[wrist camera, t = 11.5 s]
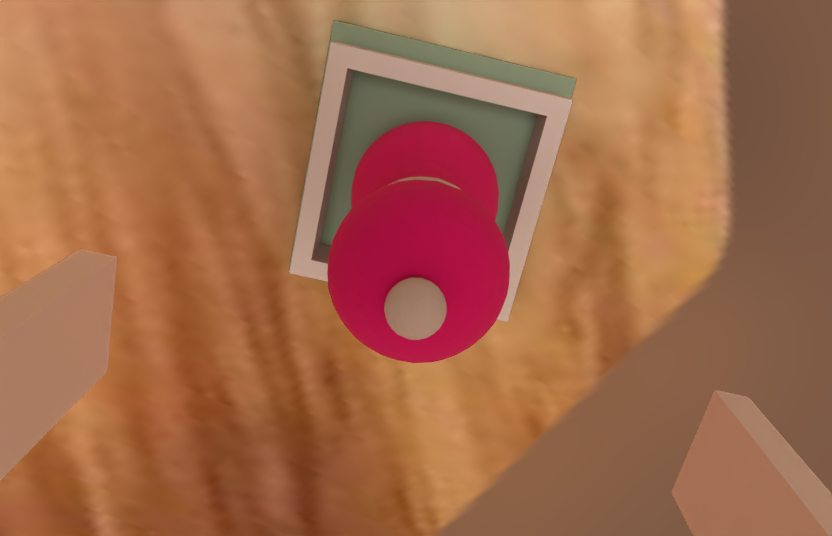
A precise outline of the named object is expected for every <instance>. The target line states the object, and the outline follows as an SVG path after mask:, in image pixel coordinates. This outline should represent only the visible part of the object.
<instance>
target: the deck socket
mask: <svg viewBox="0 0 832 536" xmlns="http://www.w3.org/2000/svg"><path fill="white" fill-rule="evenodd" d="M576 80H577V79H575V78H571V77H567V76H563V75H559V74H555V73H551V72H547V71H543V70H538V69H534V68H530V67H526V66H522V65H518V64H514V63H510V62H505V61H501V60H497V59H493V58H489V57H485V56H481V55H477V54H472V53H468V52H464V51H460V50H456V49H452V48H448V47H444V46H439V45H435V44H431V43H427V42H423V41H419V40H415V39H410V38H406V37H402V36H398V35H394V34H390V33H386V32H382V31H377V30H373V29H369V28H365V27H361V26H357V25H353V24H349V23H344V22H340V21H336V20H334V21H333V26H332V32H331V37H330V43H329V49H328V54H327V60H326V65H325V71H324V77H323V82H322V88H321V93H320V99H319V104H318V110H317V116H316V121H315V127H314V132H313V138H312V144H311V149H310V155H309V160H308V166H307V172H306V177H305V183H304V188H303V194H302V200H301V205H300V211H299V216H298V222H297V227H296V233H295V239H294V244H293V250H292V255H291V261H290V267H289V271H290V273H291V274H295V275H300V276H304V277H309V278H313V279H318V280H322V281H327V282H328V276H327V270H328V256H329V252H330V248H331V244H332V240H333V238H334V236H335V234H336V232H337V230H338V228H339V226H340V224H341V222H342V221H343V219H344V218H345V217H346V215H347V214H348V213H349V211H350V210H351V209H352V205H351V188H352V184H353V179H354V175H355V171H356V169H357V166H358V164H359V161H360V159H361V158H362V156H363V155H364V153H365V151H366V150H367V149H368V148H369V147H370V146H371V144H372V143H373V142H374V141H375V140H377V139H378V138H379V137H380V136H381V135H383V134H384V133H386V132H388V131H390V130H391V129H393V128H395V127H398V126H401V125H403V124H407V123H412V122H421V121H432V122H439V123H443V124H447V125H450V126H452V127H455V128H457V129H459V130H461V131H463V132H464V133H466V134H467V135H469V136H470V137H472V138H473V139H474V140H475V141H476V142H477V143H478V144H479V145H480V146H481V147H482V149H483V150H484V151H485V153H486V154H487V155H488V157H489V159H490V161H491V163H492V165H493V167H494V170H495V173H496V176H497V183H498V189H499V199H498V212H497V215H496V219H495V222H496V224H497V225H498V227H499V229H500V231H501V232H502V234H503V237H504V239H505V242H506V245H507V248H508V254H509V261H510V278H509V288H508V293H507V297H506V299H505V302H504V305H503V307H502V310H501V312H500V314H499V316H498V318H497V319H496V320H500V321H504V322H507V321H508V318H509V315H510V311H511V308H512V304H513V301H514V298H515V294H516V291H517V288H518V284H519V281H520V277H521V274H522V271H523V267H524V264H525V261H526V257H527V254H528V250H529V247H530V244H531V240H532V237H533V234H534V230H535V227H536V223H537V220H538V217H539V213H540V210H541V207H542V203H543V200H544V196H545V193H546V190H547V186H548V183H549V179H550V176H551V173H552V169H553V166H554V163H555V159H556V156H557V152H558V149H559V146H560V142H561V139H562V136H563V132H564V129H565V125H566V122H567V119H568V115H569V112H570V109H571V105H572V102H573V100H571V97H572V94H573V90H574V87H575V84H576Z"/></svg>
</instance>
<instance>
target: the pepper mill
mask: <svg viewBox="0 0 832 536" xmlns="http://www.w3.org/2000/svg"><path fill="white" fill-rule="evenodd" d="M498 199H499V189H498V183H497V176H496V173H495V170H494V167H493V165H492V163H491V161H490V159H489V157H488V155H487V154H486V153H485V151H484V150H483V149H482V147H481V146H480V145H479V144H478V143H477V142H476V141H475V140H474V139H473V138H472V137H470V136H469V135H467V134H466V133H464V132H463V131H461V130H459V129H457V128H455V127H452V126H450V125H447V124H443V123H439V122H432V121H421V122H412V123H407V124H403V125H401V126H398V127H395V128H393V129H391V130H390V131H388V132H386V133H384V134H383V135H381V136H380V137H379V138H378V139H377V140H375V141H374V142H373V143H372V144H371V146H370V147H369V148H368V149H367V150H366V151H365V153H364V155H363V156H362V158H361V159H360V161H359V164H358V166H357V169H356V171H355V175H354V179H353V184H352V188H351V205H352V209H351V210H350V211H349V213H348V214H347V215H346V217H345V218H344V219H343V221H342V222H341V224H340V226H339V228H338V230H337V232H336V234H335V236H334V238H333V240H332V244H331V248H330V252H329V256H328V270H327V276H328V287H329V292H330V295H331V298H332V302H333V305H334V307H335V309H336V311H337V313H338V315H339V317H340V318H341V320H342V322H343V323H344V324H345V326H346V327H347V328H348V329H349V330H350V332H351V333H352V334H353V335H354V336H355V337H356V338H357V339H358V340H359V341H361V342H362V343H363V344H364V345H366V346H367V347H369V348H371V349H372V350H374V351H376V352H378V353H379V354H381V355H384V356H387V357H390V358H393V359H396V360H400V361H406V362H411V363H423V362H434V361H439V360H443V359H446V358H448V357H451V356H454V355H457V354H458V353H460V352H462V351H464V350H465V349H467V348H469V347H471V346H472V345H473V344H474V343H475V342H477V341H478V340H479V339H480V338H481V337H483V336H484V335H485V333H486V332H487V331H488V330H489V329H490V328H491V327H492V325H493V324H494V322H495V321H496V319H497V318H498V316H499V314H500V312H501V310H502V307H503V305H504V302H505V299H506V297H507V293H508V288H509V278H510V261H509V254H508V248H507V245H506V242H505V239H504V237H503V234H502V232H501V231H500V229H499V227H498V225H497V224H496V222H495V219H496V215H497V212H498Z"/></svg>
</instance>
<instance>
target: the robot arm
mask: <svg viewBox="0 0 832 536" xmlns="http://www.w3.org/2000/svg"><path fill="white" fill-rule="evenodd" d="M116 266H117V257H116V256H111V255H107V254H102V253H98V252H93V251H89V250H84V249H80V250H78V251H76V252H75V253H73V254H71V255H70V256H68V257H66V258H65V259H63V260H61V261H60V262H58V263H56V264H55V265H53V266H51V267H50V268H48V269H46V270H45V271H43V272H41V273H40V274H38V275H36V276H35V277H33V278H31V279H30V280H28V281H26V282H25V283H23V284H21V285H20V286H18V287H16V288H15V289H13V290H11V291H10V292H8V293H6V294H5V295H3V296H1V297H0V480H1V479H2V478H3V477H4V476H5V475H6V474H7V473H8V472H9V471H10V470H11V469H12V468H13V467H14V466H15V465H16V464H17V463H18V462H19V461H20V460H21V459H22V458H23V457H24V456H25V455H26V454H27V453H28V452H29V451H30V450H31V449H32V448H33V447H34V446H35V445H36V444H37V443H38V442H39V441H40V440H41V439H42V437H43V436H44V435H45V434H46V433H47V432H48V431H49V430H50V429H51V428H52V427H53V426H54V425H55V424H56V423H57V422H58V421H59V420H60V419H61V418H62V417H63V416H64V415H65V414H66V413H67V412H68V411H69V410H70V409H71V408H72V407H73V406H74V405H75V404H76V403H77V402H78V401H79V400H80V399H81V398H82V397H83V396H84V395H85V394H86V393H87V392H88V391H89V390H90V389H91V388H92V386H93V385H94V384H95V383H96V382H97V381H98V380H99V379H100V378H101V377H102V376H103V375H104V374H105V373H106V372H107V369H108V357H109V346H110V335H111V323H112V312H113V300H114V289H115V278H116ZM672 494H673V496H674V498H675V500H676V502H677V504H678V506H679V508H680V510H681V512H682V514H683V516H684V518H685V520H686V522H687V524H688V526H689V528H690V530H691V532H692V533H693V535H694V536H832V494H831V493H830V492H829V491H828V489H827V488H826V487H825V486H824V485H823V484H822V482H821V481H820V480H819V479H818V478H817V477H816V476H815V474H814V473H813V472H812V471H811V470H810V468H809V467H808V466H807V465H806V464H805V463H804V462H803V460H802V459H801V458H800V457H799V456H798V455H797V453H796V452H795V451H794V450H793V449H792V448H791V446H790V445H789V444H788V443H787V442H786V441H785V439H784V438H783V437H782V436H781V435H780V434H779V432H778V431H777V430H776V429H775V428H774V427H773V425H772V424H771V423H770V422H769V421H768V420H767V418H766V417H765V416H764V415H763V414H762V413H761V411H760V410H759V409H758V408H757V407H756V406H755V404H754V403H753V402H752V401H751V400H750V399H749V398H748V397H744V396H740V395H736V394H731V393H727V392H722V391H717V390H715V391H714V393H713V396H712V398H711V400H710V403H709V405H708V408H707V410H706V413H705V415H704V417H703V419H702V422H701V424H700V427H699V429H698V431H697V433H696V436H695V438H694V441H693V443H692V445H691V448H690V450H689V453H688V455H687V457H686V460H685V462H684V464H683V467H682V469H681V471H680V474H679V476H678V478H677V481H676V483H675V485H674V488H673V490H672Z"/></svg>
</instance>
